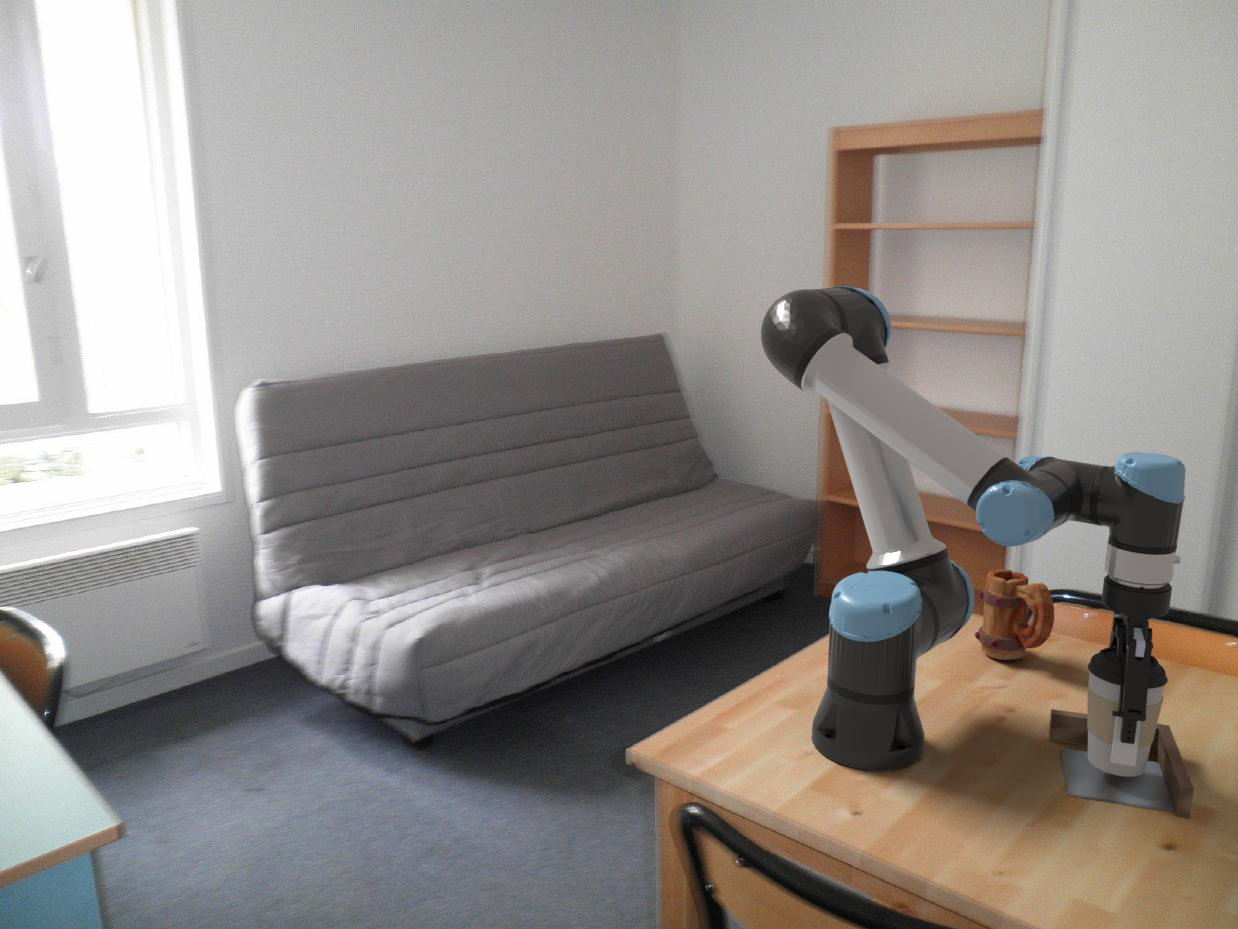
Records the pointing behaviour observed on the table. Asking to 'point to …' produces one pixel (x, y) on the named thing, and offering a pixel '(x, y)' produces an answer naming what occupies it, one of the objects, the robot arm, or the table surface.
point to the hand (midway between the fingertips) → (1117, 745)
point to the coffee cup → (1106, 700)
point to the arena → (1153, 789)
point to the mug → (1013, 615)
